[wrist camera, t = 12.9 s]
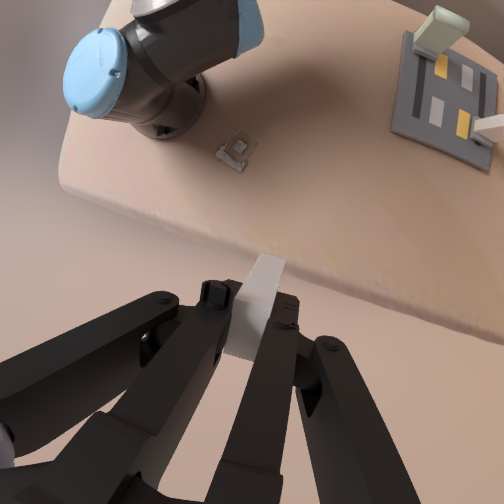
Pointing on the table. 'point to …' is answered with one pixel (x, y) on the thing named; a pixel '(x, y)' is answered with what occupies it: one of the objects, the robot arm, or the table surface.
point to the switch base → (443, 102)
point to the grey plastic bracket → (238, 147)
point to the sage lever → (438, 33)
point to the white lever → (488, 129)
